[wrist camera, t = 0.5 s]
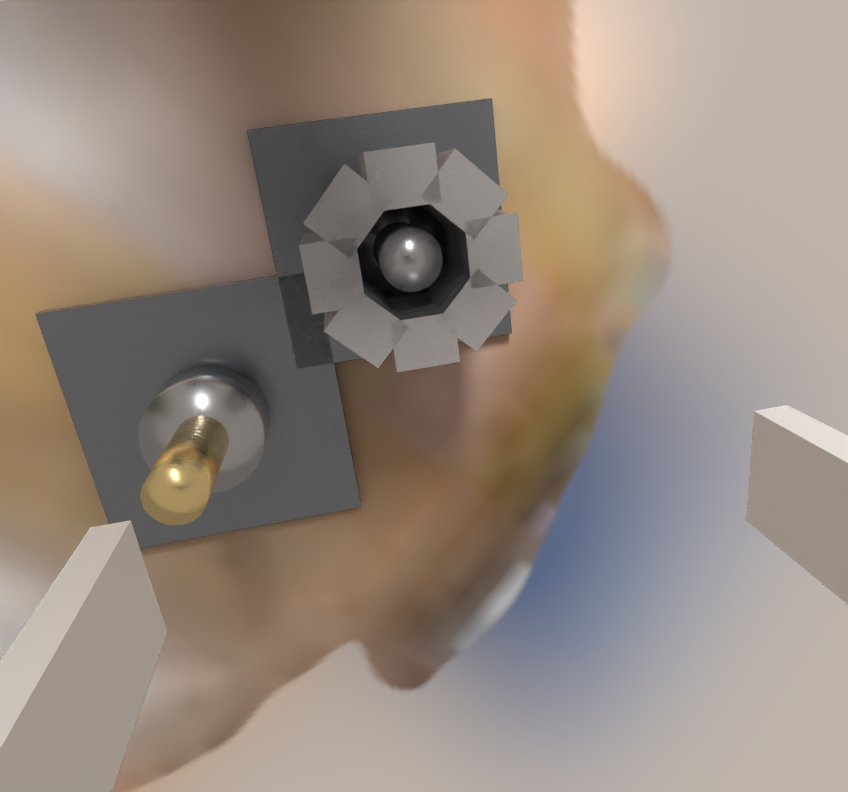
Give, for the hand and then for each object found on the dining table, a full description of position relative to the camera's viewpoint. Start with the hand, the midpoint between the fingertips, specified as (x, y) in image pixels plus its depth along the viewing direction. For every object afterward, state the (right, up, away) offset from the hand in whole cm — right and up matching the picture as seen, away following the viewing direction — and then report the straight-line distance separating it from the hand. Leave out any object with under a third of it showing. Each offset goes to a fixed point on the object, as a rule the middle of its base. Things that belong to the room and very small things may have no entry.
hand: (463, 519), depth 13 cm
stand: (-3, +11, +20) cm, 23 cm away
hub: (-12, +2, +21) cm, 25 cm away
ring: (-2, +9, +14) cm, 17 cm away
